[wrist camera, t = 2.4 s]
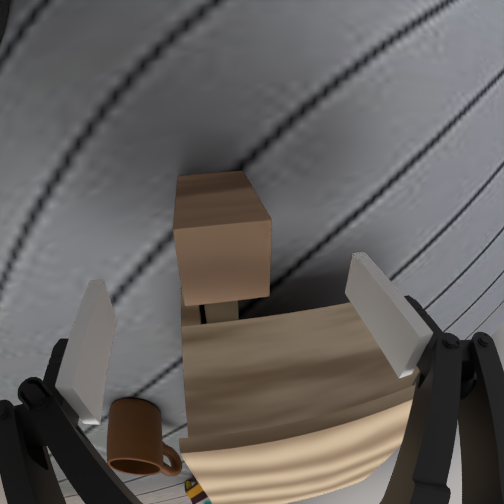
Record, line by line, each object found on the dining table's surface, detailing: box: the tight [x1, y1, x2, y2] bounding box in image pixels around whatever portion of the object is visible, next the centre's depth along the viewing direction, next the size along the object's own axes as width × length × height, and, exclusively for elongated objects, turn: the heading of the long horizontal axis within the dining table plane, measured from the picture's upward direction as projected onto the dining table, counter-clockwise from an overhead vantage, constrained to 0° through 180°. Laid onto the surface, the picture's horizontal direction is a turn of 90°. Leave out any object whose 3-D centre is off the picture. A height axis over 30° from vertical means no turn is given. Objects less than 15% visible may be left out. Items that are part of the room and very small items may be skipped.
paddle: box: [173, 171, 272, 324], centre depth 26 cm, size 27×5×9 cm, turn 0°
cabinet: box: [179, 288, 420, 504], centre depth 29 cm, size 25×20×16 cm
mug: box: [107, 399, 182, 476], centre depth 34 cm, size 12×8×9 cm, turn 37°
